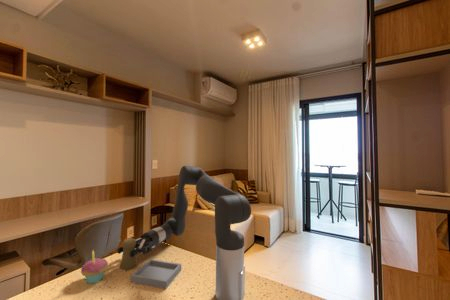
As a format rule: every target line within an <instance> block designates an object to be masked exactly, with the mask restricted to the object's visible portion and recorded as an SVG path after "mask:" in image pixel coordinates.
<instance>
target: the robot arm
mask: <svg viewBox="0 0 450 300" xmlns="http://www.w3.org/2000/svg"><path fill="white" fill-rule="evenodd" d="M188 185H189V186H195V192H196V193H197V195H198V196H199V197H200V198H201V199H202V200H204V201H205V202H207V203H209V204H212V205H214V225H215V226H214V230H215V231H214V232H215V239H216V240H215V241H216V242H215V246H216V248H215V299H216V300H244V297H245V294H246V292H245V291H246V287H245V285H246V265H245V237H244V235H243V234H242V233H241V232H239V231H237V230H236V231H235V230H232V229H231V226H232V225H236V224H241V223H244V222H246V221H248V220H249V218H250V217H251V215H252V206H251V204H250V202H249V200H248V198H246V196H244V195H243V194H241V193H239V192H236V191H234V190H231V189H230V188H228V187H226V186H225V185H223V184H222V183H220V182H219V181H217V179H215V178H214V177H211V176H210V175H209V174H207V173H206V172H205V171H204V170H203V169H202V168H201V167H198V166H191V165H183V166H181V168H180V171H179V175H178V180H177V188H176V196H175V202H174V205H173V209H172V213H171V217H169V218H168V219H167V220H166V221H165V222H164V223H163V224H162V225H160V226H158V227H155V228H152V229H150V230H148V231H145V232H143V233H142V235H141V236H140V237H139V238H136V239H135V238H134V237H132V238H133V239H135V241H136V245H135V247H134V248H135V249H134V250H132V251H131V252H130V257H133V256H135V255H136V256H137V255H141V254H142V255H146V254H148V253H150V252H152V251H154V250H155V248H156V246H158V245H160V244H161V243H162V242H164V241H165V240H167V239H169V238H170V237H171V236H172V234H173V235H174V236H176V237H179V236H181V235H182V234H183V233H184V231H185V229H186V215H187V212H188V208H189V202H188V201H189V200H188V198H187V196H186V193H185V187H186V186H188ZM116 251H117V252H116V253H117V254H121V253H123V247H122V245H121V246H119V247H118V248H117V250H116Z"/></svg>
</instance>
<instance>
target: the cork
mask: <svg viewBox="0 0 450 300" xmlns="http://www.w3.org/2000/svg"><path fill="white" fill-rule="evenodd" d="M133 238H134V237H131V238H129V237H128V238H125V239H123V241H122V243H121V246H122V247H123V252H122V256H121V262H120V269H121V270H122V271H130V270H133V269H135V268H136V267H137V266H138V265H137V255H135V256H133V257H130V252H131V251H132V250H134V249H135V248H134V247H135V245H136V241H135V240H136V239H135V238H134V239H133Z"/></svg>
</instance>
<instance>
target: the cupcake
mask: <svg viewBox="0 0 450 300" xmlns="http://www.w3.org/2000/svg"><path fill="white" fill-rule="evenodd" d="M91 255H92V256H91V257H92V258H91V259H89V260H88V261H86V262H85V263H84V264H83V265H81V268H80V269H81V270H80V273H81V275H82V276H84V278H85V280H86V282H87V284H96V283H98V282H100V281H101V280H102V279H103V277H104V273H105V272H106V270H108V269H107V268H108V266H109V265H108V263H109V262H108V260H106V259H105V258H99V257H95V251H94V250H92V251H91Z"/></svg>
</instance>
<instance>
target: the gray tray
mask: <svg viewBox="0 0 450 300" xmlns="http://www.w3.org/2000/svg"><path fill="white" fill-rule="evenodd" d="M181 271H182V263H177V262H173V261H172V262H171V261H165V260H164V261H163V260H158V259H151V258H150V259H149V260H147V262H145V263H144V264H142V266H141V267H139V268H138V269H137V270H136V271H135V272H133V273H132V274H131V276H130V283H133V284H138V285H143V286H148V287H154V288H159V289H164V290H167V289H168V287H169V286H170V285H171V284H172V282H173V281H174V280H175V279H176V277H177V276H178V275H179V274H180V273H181Z"/></svg>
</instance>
